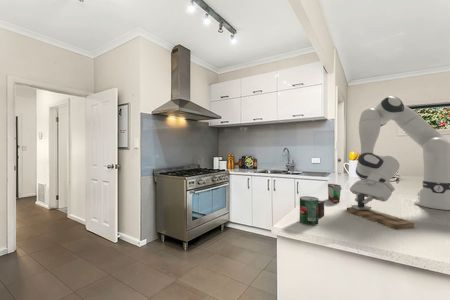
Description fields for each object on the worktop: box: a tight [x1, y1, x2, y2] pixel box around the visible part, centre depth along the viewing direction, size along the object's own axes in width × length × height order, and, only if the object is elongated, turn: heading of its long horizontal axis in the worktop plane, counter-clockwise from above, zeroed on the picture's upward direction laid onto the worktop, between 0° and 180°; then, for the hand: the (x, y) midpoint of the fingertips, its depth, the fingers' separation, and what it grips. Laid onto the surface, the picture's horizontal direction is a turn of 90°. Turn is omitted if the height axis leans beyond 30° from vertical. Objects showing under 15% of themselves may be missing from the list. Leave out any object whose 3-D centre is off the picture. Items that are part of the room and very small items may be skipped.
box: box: [318, 199, 325, 219], centre depth 108 cm, size 6×6×7 cm
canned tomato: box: [299, 195, 320, 227], centre depth 99 cm, size 8×8×11 cm
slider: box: [350, 194, 372, 210], centre depth 113 cm, size 5×7×7 cm
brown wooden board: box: [346, 206, 415, 230], centre depth 104 cm, size 26×10×2 cm, turn 13°
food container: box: [327, 183, 343, 204], centre depth 137 cm, size 12×6×10 cm, turn 171°
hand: (360, 202), depth 113 cm, fingers closed on slider, 3 cm apart
